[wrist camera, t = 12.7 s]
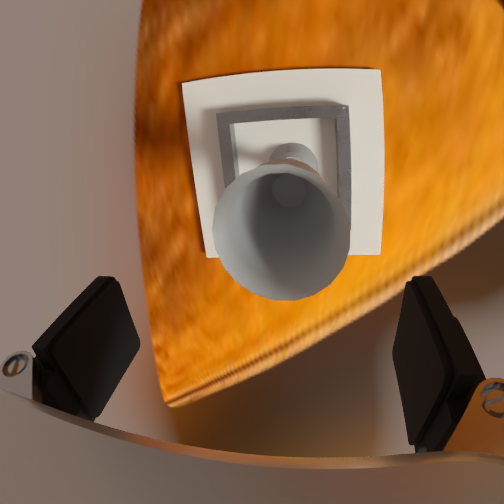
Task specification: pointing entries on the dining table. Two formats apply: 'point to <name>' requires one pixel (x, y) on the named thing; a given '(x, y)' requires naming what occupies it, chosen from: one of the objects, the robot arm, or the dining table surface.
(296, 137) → the board
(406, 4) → the dining table surface
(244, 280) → the chalice
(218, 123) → the collar
